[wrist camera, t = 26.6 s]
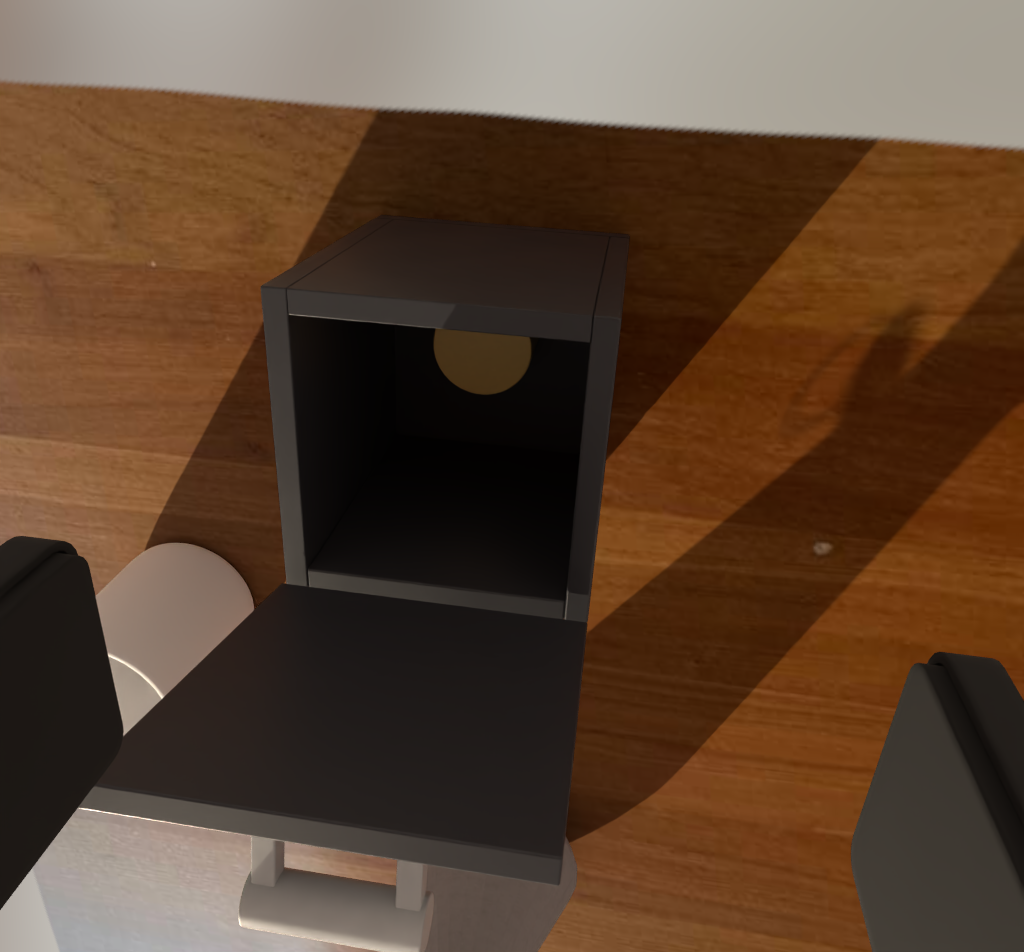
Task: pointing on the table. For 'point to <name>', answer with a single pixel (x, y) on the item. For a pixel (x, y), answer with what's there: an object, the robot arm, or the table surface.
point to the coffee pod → (482, 359)
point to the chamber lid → (366, 754)
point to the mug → (167, 620)
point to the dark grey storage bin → (445, 413)
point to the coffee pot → (495, 909)
